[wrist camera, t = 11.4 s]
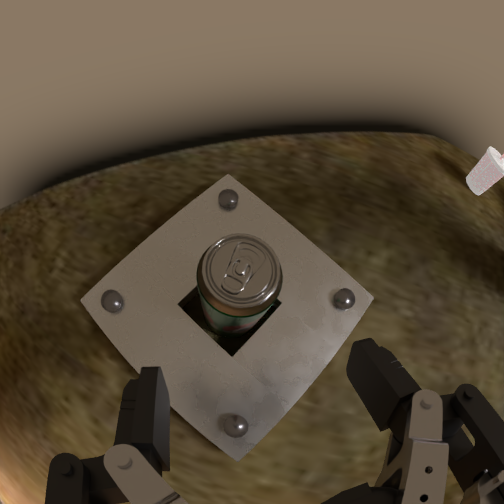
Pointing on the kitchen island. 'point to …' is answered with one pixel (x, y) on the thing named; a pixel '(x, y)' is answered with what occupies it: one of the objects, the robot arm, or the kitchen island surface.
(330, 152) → the kitchen island surface
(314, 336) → the socket plate
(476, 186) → the beverage cup
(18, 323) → the kitchen island surface
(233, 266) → the soda can
